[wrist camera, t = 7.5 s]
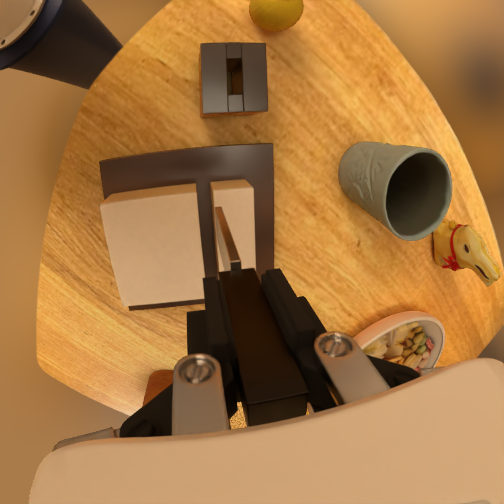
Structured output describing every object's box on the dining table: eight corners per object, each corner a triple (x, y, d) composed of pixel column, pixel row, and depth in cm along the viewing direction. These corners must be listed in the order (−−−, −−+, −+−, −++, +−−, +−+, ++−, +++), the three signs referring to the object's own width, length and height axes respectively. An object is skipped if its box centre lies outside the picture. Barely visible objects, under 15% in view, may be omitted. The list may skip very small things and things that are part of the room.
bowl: (282, 404, 53) (294, 434, 46) (374, 283, 45) (401, 309, 38) (375, 409, 63) (388, 430, 56) (450, 319, 55) (471, 338, 48)
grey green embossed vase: (401, 154, 36) (462, 171, 26) (377, 218, 40) (431, 251, 29) (346, 125, 33) (406, 130, 23) (320, 196, 37) (370, 228, 26)
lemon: (242, 1, 25) (256, -28, 18) (287, 3, 26) (311, -22, 18) (244, 38, 27) (260, 15, 20) (290, 40, 28) (316, 20, 21)
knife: (206, 207, 20) (245, 395, 6) (229, 205, 21) (312, 381, 6) (209, 241, 22) (250, 444, 7) (231, 239, 22) (302, 434, 7)
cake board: (101, 160, 30) (99, 161, 29) (270, 143, 33) (273, 143, 32) (130, 306, 38) (129, 311, 37) (272, 291, 41) (274, 294, 40)
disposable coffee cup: (144, 357, 42) (138, 418, 31) (201, 369, 45) (208, 429, 34) (136, 392, 45) (131, 447, 34) (187, 402, 48) (191, 456, 37)
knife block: (198, 59, 27) (200, 43, 21) (251, 58, 28) (266, 42, 22) (200, 117, 30) (202, 113, 24) (253, 114, 31) (268, 111, 25)
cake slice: (210, 181, 32) (213, 190, 28) (244, 179, 33) (253, 187, 29) (217, 275, 37) (221, 296, 33) (248, 272, 38) (256, 292, 34)
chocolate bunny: (445, 203, 42) (511, 236, 28) (449, 254, 46) (504, 293, 33) (418, 220, 42) (486, 259, 28) (425, 272, 46) (480, 316, 33)
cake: (111, 193, 31) (99, 205, 26) (195, 183, 32) (196, 192, 28) (129, 285, 36) (122, 306, 31) (205, 277, 37) (207, 298, 33)
